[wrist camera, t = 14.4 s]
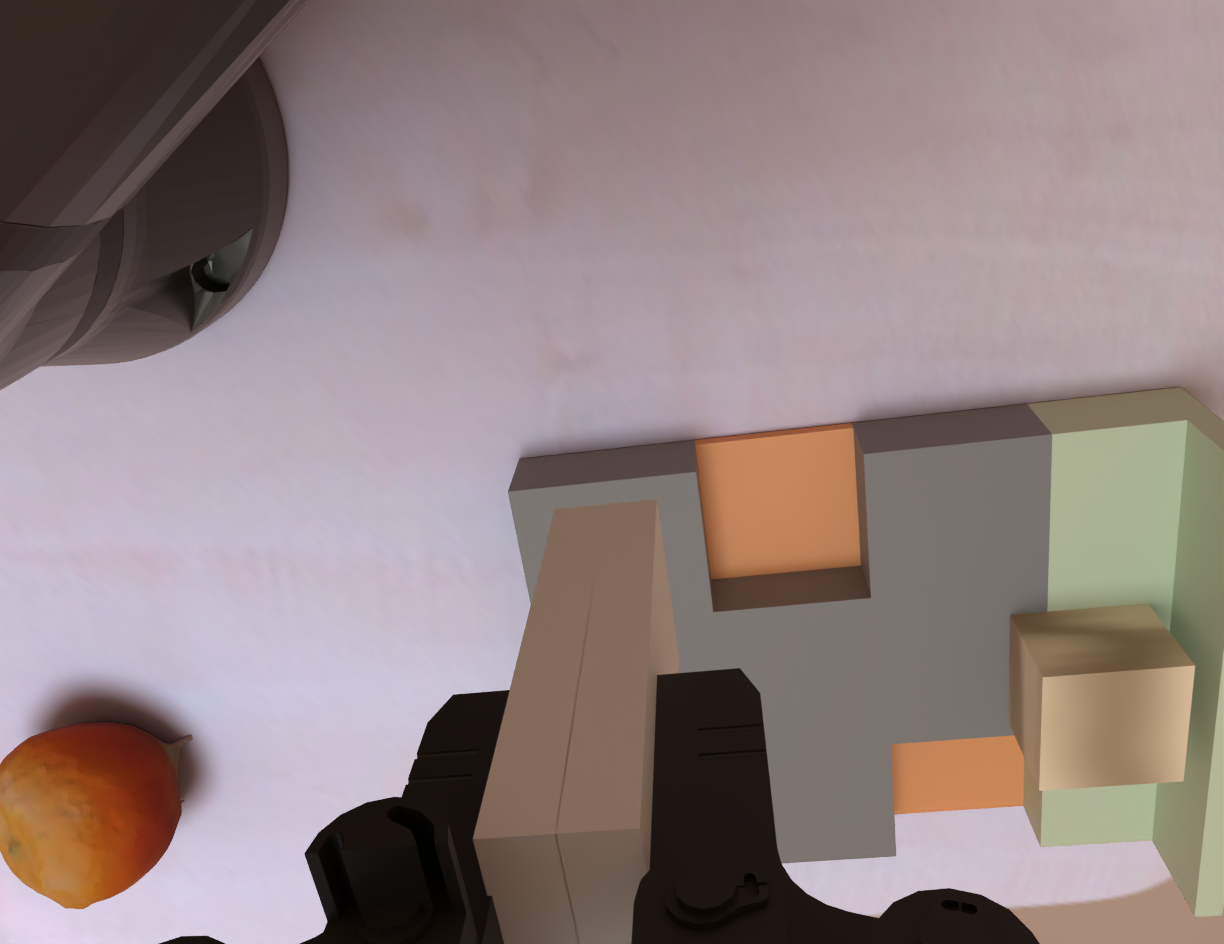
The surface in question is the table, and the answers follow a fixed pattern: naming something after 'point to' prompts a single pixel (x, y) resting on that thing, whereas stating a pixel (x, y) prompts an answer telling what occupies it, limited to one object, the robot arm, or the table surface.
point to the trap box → (933, 601)
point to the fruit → (88, 809)
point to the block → (1099, 697)
